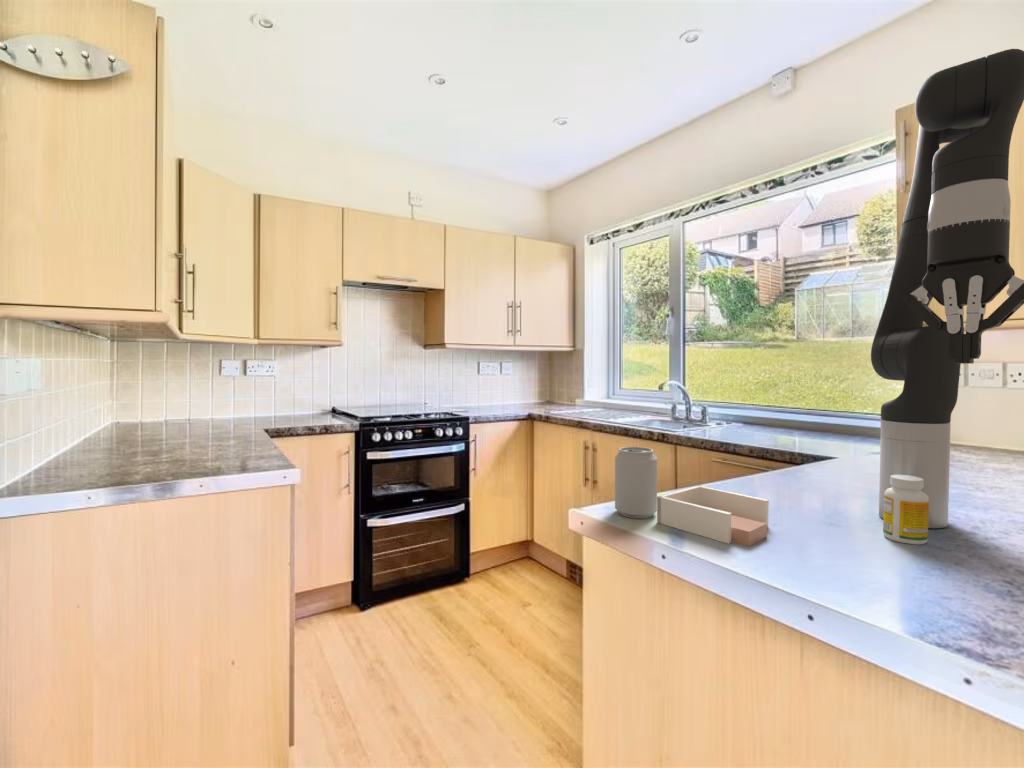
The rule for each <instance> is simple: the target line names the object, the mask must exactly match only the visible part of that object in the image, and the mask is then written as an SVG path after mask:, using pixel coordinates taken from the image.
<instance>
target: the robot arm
mask: <svg viewBox="0 0 1024 768" xmlns="http://www.w3.org/2000/svg"><path fill="white" fill-rule="evenodd" d="M1023 104H1024V50H1023V49H1020V48H1009V49H1005V50H1001V51H998V52H995V53H991V54H989V55H987V56H982V57H979V58H976V59H973V60H970V61H966V62H963V63H961V64H957V65H953V66H950V67H948V68H944V69H941V70H938V71H937V72H935V73H933V74H932V75H930V76H929V77H928V78H926V79H925V80H924V82H922V84H921V85H920V87H919V88H918V91H917V94H916V95H915V102H914V114H915V118H916V120H917V122H918V124H919V125H918V126H919V127H918V134H917V135H918V136H917V143H916V144H917V145H916V151H915V158H914V159H915V160H914V166H913V174H912V178H911V179H912V180H911V185H910V189H909V193H908V198H907V203H906V207H905V209H904V214H903V219H902V224H901V227H900V233H899V237H898V238H899V239H898V241H897V242H898V243H897V250H896V257H895V262H894V264H893V265H894V267H893V271H892V274H891V279H890V283H889V286H888V287H889V288H888V292H887V296H886V300H885V303H884V307H883V309H882V313H881V316H880V320H879V322H878V325H877V328H876V332H875V333H874V338H873V341H872V346H871V348H870V349H871V351H870V361H871V365H872V368H873V370H874V372H875V373H876V374H877V376H879V377H881V378H883V379H886V380H889V381H901V382H903V381H904V382H903V388H902V392H901V393H900V394H899V395H898V396H896V398H893V399H891V400H888V401H886V402H884V403H882V405H881V407H880V440H879V443H880V444H879V445H880V446H879V447H880V448H879V449H880V451H879V452H880V454H879V490H878V491H879V493H878V516H879V517H880V518H882V519H883V517H884V493H885V491H886V490H887V489H888V488H892V485H891V483H890V477H891V475H909V476H915V477H919V478H922V479H924V487H923V489H921V491H922V492H924V493H925V494H927V496H928V497H929V514H928V529H942V528H947V527H948V526H949V502H950V469H951V468H950V465H951V461H950V460H951V423H952V422H951V418H952V413H953V410H954V409H955V407H956V405H957V401H958V395H959V385H960V375H961V365H962V364H974V362H975V361H974V360H975V359H976V360H978V359H980V358H981V355H982V335H983V334H984V332H985V331H988V330H991V329H994V328H998V327H1001V326H1002V325H1003V324H1004V323H1006V321H1007V320H1008V319H1009V318H1011V317H1012V316H1013V314H1015V312H1017V311H1018V310H1019V309H1020V308H1021V307H1022V306H1024V279H1022V278H1020V277H1017V276H1015V274H1016V273H1015V269H1014V268H1013V267H1012V266H1011V264H1010V238H1011V237H1010V235H1011V231H1010V230H1011V194H1010V187H1009V169H1010V165H1009V162H1010V161H1009V160H1010V159H1009V158H1010V147H1011V140H1012V135H1013V132H1014V128H1015V124H1016V122H1017V118H1018V115H1019V113H1020V110H1021V108H1022V106H1023ZM942 144H944V145H943V146H941V147H940V145H942ZM1007 285H1008V289H1007V290H1006V295H1007V296H1008V297H1007V298H1006V299H1005V300H1004V301H1003V302H1002V303H1001V304H1000V305H999V306H998V307H997V308H996V309H995V310H994V311H993V312H992V313H990V315H989V316H988V317H985V314H986V311H987V304H989V303H991V302H992V301H993V300H994V299H995V298H996V297H997V296H998V295H999V294H1000V293H1001V292H1002V291H1003V290H1004V289H1005V288H1006V287H1007ZM933 298H934V299H935V300H936V302H937V303H938V304H939V305H940V306H943V307H944V314H945V317H946V321H944V320H943V319H942V318H941V317H940V315H939V316H938V314H937V313H936V312H935V311H934V310H933V309H931V307H929V305H930V304H931V301H932V300H933ZM965 306H966V317H965V310H964V308H965ZM964 317H965V319H964ZM924 323H925V324H926V325H925V326H924Z"/></svg>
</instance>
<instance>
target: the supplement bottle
mask: <svg viewBox="0 0 1024 768" xmlns="http://www.w3.org/2000/svg"><path fill="white" fill-rule="evenodd" d="M890 483H891V485H892V488H888V489H887V490H886V491H885V493H884V517H883V518H882V519H883V520H882V521H883V523H882V525H883V526H882V533H883V535H884V537H886V539H888V540H891V541H893V542H897V543H902V544H909V545H925V544H926V543H927V542H928V536H929V528H928V514H929V497H928V496H927V494H925V493H924V492H922V491H921V489H923V487H924V479H922V478H919V477H915V476H909V475H891V477H890Z"/></svg>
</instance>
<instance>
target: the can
mask: <svg viewBox="0 0 1024 768" xmlns="http://www.w3.org/2000/svg"><path fill="white" fill-rule="evenodd" d="M657 496H658V457H657V456H656V455H655V454H654V449H653V448H650V447H646V446H645V447H644V446H622V447H619V448H618V453H616V455H614V509H615V510H616V511H617V512H618V513H619V515H621V516H623V517H626V518H630V519H647V518H651V517H653V515H655V513H657Z"/></svg>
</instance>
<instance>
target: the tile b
mask: <svg viewBox="0 0 1024 768" xmlns="http://www.w3.org/2000/svg"><path fill="white" fill-rule="evenodd" d="M767 537H768V527H767V523H763V522H759V521H754V520H750V519H746V518H742V517H738V516H733V515H731V542H732V543H733V542H734V543H737V544H740V545H745V546H752V545H753V544H756V543H758V542H760V541H761V540H764V539H766V538H767Z"/></svg>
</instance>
